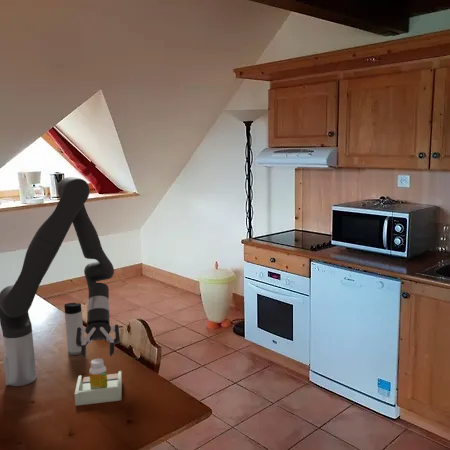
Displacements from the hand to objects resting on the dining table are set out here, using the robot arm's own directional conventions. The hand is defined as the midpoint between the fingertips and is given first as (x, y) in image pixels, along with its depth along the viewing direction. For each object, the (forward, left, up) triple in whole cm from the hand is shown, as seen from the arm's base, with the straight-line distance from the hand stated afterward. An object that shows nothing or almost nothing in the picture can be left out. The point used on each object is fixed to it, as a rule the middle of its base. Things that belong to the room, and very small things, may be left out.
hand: (97, 356), depth 160 cm
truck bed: (0, -2, -11) cm, 11 cm away
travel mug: (-11, +30, -11) cm, 33 cm away
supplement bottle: (0, -4, -10) cm, 10 cm away
